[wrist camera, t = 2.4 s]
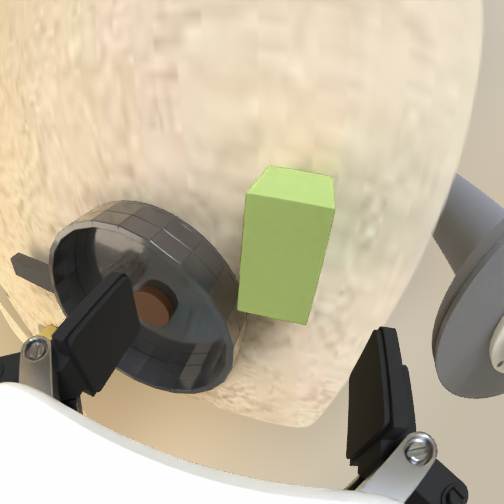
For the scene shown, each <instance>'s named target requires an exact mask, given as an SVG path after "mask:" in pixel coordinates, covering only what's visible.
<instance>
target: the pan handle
mask: <svg viewBox="0 0 504 504" xmlns="http://www.w3.org/2000/svg"><path fill="white" fill-rule="evenodd" d="M11 262H12V265H13V268H14V270H15V273H16V275H18V276H20V277H22V278H24V279H26V280H28V281H30V282H32V283H34V284H36V285H38V286H40V287H42V288H44V289H46V290H48V291H50V292H52V293H54V290H53V287H52V284H51V279H50V272H49V265H48V264H46V263H43V262H41V261H38V260H36V259H33V258H31V257H28V256H26V255H24V254H21V253H17V254H16V255H14V256H13V257H12V258H11ZM54 294H55V293H54Z"/></svg>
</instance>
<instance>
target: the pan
mask: <svg viewBox="0 0 504 504" xmlns="http://www.w3.org/2000/svg"><path fill="white" fill-rule="evenodd" d="M113 270H115V271H119V272H122V273H126V274H127V276H128V278H129V279H130V280H131V285H132V290H133V294H134V293H135V292H136V291H137V290H138V289H139V288H140V287H142V286H152V287H155V288H157V289H159V290H161V291H162V292H163V293H164V294H165V295H166V296H167V297H168V298H169V299H170V301H171V303H172V305H173V309H174V312H173V315H172V317H171V319H170V320H169V322H168V323H167V324H166V325H164V326H154V325H151V324H149V323H147V322H145V321H144V320H142V319H141V318H140V317H139V316H138V318H139V322H140V331H139V334H138V335H137V337H136V338H135V340H134V341H133V342H132V344H131V345H130V347H129V348H128V350H127V351H126V353H125V354H124V356H123V357H122V359H121V360H120V362H119V363H118V365H117V367H116V368H115V369H117V370H119V371H120V372H122V373H124V374H125V375H127V376H129V377H131V378H132V379H134V380H136V381H138V382H141V383H143V384H146V385H148V386H151V387H153V388H156V389H160V390H165V391H169V392H173V393H186V394H195V393H200V392H204V391H209V390H212V389H213V388H215V387H216V386H218V385H220V384H221V383H223V382H224V381H225V379H226V378H227V376H228V374H229V373H230V371H231V369H232V368H233V365H234V362H235V360H236V357H237V354H238V352H239V349H240V346H241V344H242V341H243V339H244V333H245V328H246V312H243V311H239V310H237V305H238V291H239V284H238V282H237V280H236V278H235V276H234V274H233V273H232V271H231V269H230V268H229V266H228V264H227V263H226V261H225V260H224V259H223V258H222V256H221V255H220V254H219V253H218V251H217V250H216V249H215V248H214V247H213V246H212V245H211V244H210V243H209V242H208V241H207V240H206V238H205V237H203V236H202V235H201V234H200V233H199V232H197V231H196V230H195V229H194V228H193V227H191V226H190V225H189V224H187V223H186V222H184V221H183V220H181V219H180V218H178V217H177V216H175V215H173V214H171V213H169V212H167V211H165V210H163V209H160V208H158V207H155V206H152V205H150V204H145V203H141V202H136V201H114V202H109V203H106V204H103V205H101V206H98V207H96V208H94V209H93V210H91V211H90V212H88V213H86V214H85V215H83V216H82V217H80V218H79V219H77V220H75V221H74V222H72V223H71V224H70V225H68V226H67V227H66V228H64V229H63V230H62V231H60V232H59V233H58V234H57V236H56V238H55V240H54V242H53V244H52V246H51V249H50V256H49V272H50V279H51V284H52V287H53V290H54V293H55V296H56V298H57V301H58V304H59V305H60V307H61V309H62V311H63V313H64V314H65V316H66V318H67V317H68V316H69V315H70V314H71V313H72V312H73V311H74V309H75V308H76V307H77V306H78V305H79V304H80V303H81V302H82V301H83V300H84V299H85V298H86V297H87V296H88V294H89V293H90V292H91V291H92V290H93V289H94V288H95V287H96V286H97V285H98V284H99V283H100V282H101V281H102V280H103V279H104V278H105V277H106V276H107V275H108V274H109V273H110V272H111V271H113Z"/></svg>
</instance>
